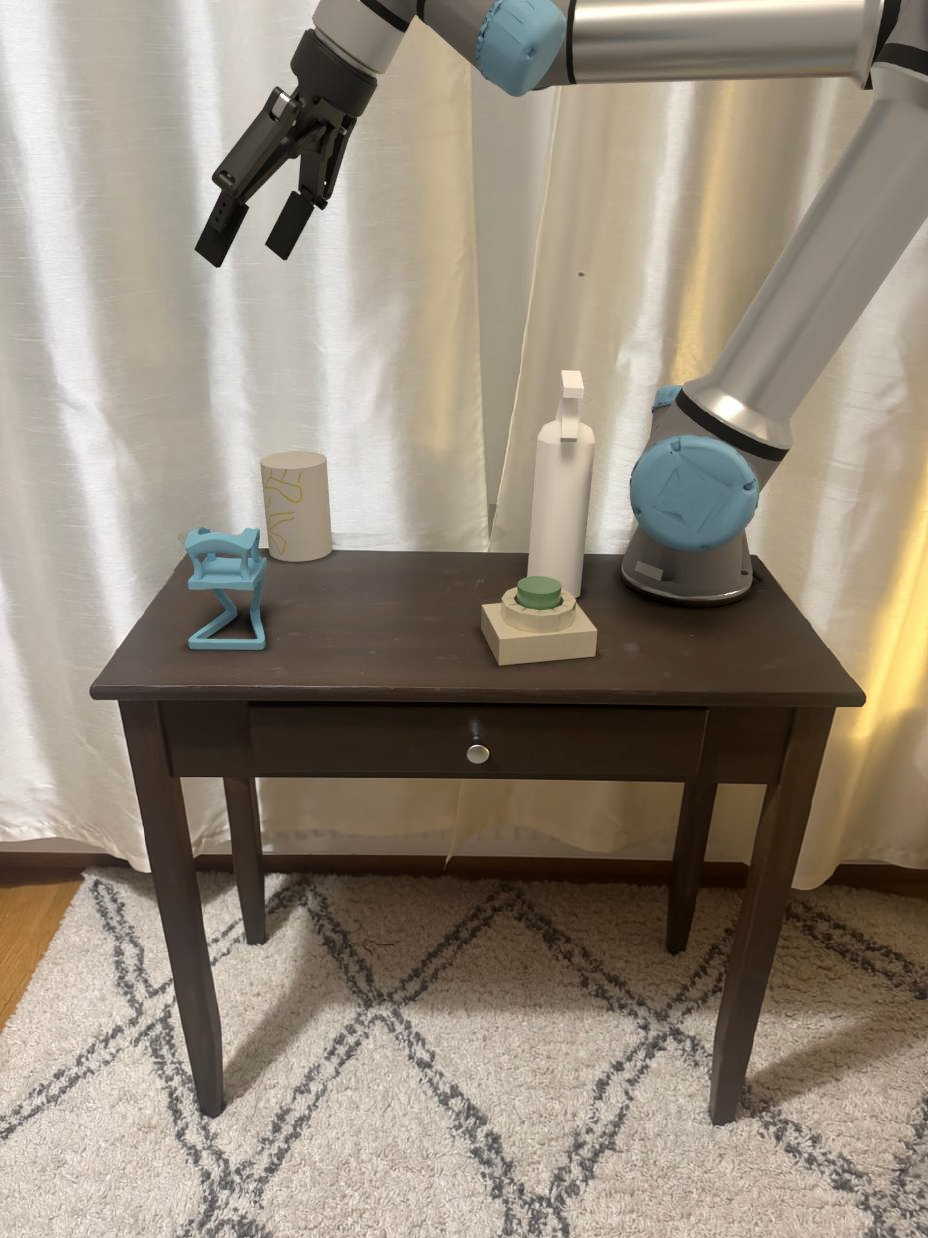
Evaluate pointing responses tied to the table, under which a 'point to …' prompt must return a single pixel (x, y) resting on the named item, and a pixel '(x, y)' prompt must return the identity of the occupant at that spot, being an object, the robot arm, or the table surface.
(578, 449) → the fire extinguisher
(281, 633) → the table surface
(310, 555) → the white cylinder
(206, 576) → the chair
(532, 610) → the push button base
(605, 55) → the robot arm
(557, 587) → the green cylindrical puck
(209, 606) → the table surface
